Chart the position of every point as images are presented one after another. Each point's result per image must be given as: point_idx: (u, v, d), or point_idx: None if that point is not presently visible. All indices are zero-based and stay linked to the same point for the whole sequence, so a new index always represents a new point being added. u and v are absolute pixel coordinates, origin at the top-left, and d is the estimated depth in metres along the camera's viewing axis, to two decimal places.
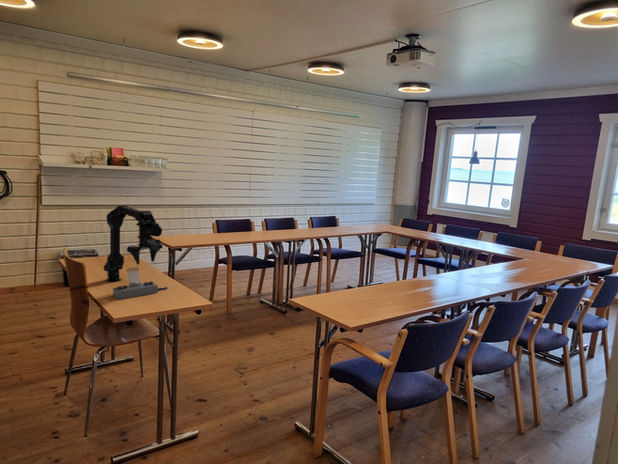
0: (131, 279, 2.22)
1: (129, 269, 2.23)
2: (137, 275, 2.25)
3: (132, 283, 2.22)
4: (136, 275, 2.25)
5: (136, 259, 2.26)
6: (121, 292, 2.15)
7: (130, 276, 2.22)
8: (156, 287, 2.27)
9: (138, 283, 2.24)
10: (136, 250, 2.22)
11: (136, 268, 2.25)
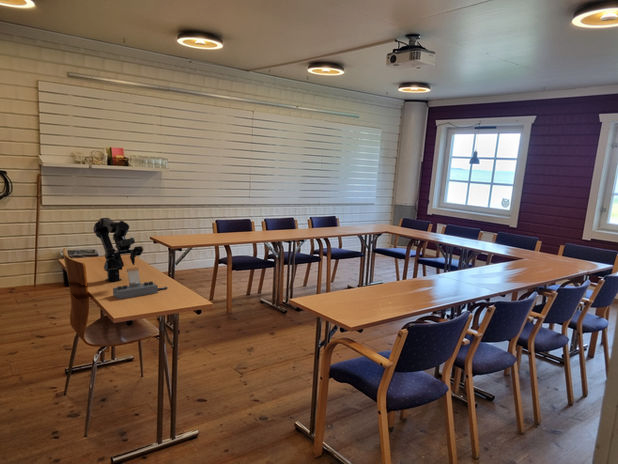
0: (131, 279, 2.22)
1: (129, 269, 2.23)
2: (137, 275, 2.25)
3: (132, 283, 2.22)
4: (136, 275, 2.25)
5: (119, 261, 2.27)
6: (121, 292, 2.15)
7: (130, 276, 2.22)
8: (156, 287, 2.27)
9: (138, 283, 2.24)
10: (110, 250, 2.25)
11: (136, 268, 2.25)
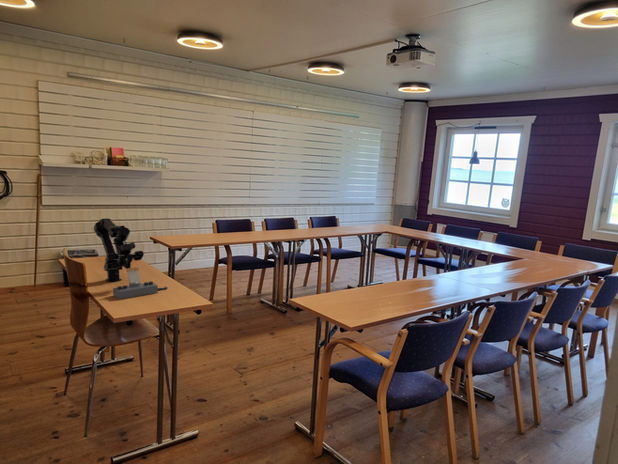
0: (131, 279, 2.22)
1: (129, 269, 2.23)
2: (137, 275, 2.25)
3: (132, 283, 2.22)
4: (136, 275, 2.25)
5: (125, 265, 2.28)
6: (121, 292, 2.15)
7: (130, 276, 2.22)
8: (156, 287, 2.27)
9: (138, 283, 2.24)
10: (111, 255, 2.24)
11: (136, 268, 2.25)
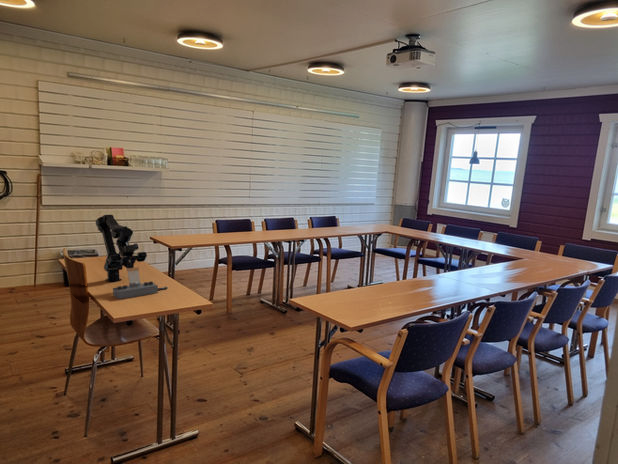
0: (131, 279, 2.22)
1: (129, 269, 2.22)
2: (137, 275, 2.25)
3: (132, 283, 2.22)
4: (136, 275, 2.24)
5: (128, 267, 2.25)
6: (121, 292, 2.15)
7: (130, 276, 2.22)
8: (156, 287, 2.27)
9: (138, 283, 2.24)
10: (114, 256, 2.21)
11: (136, 268, 2.25)
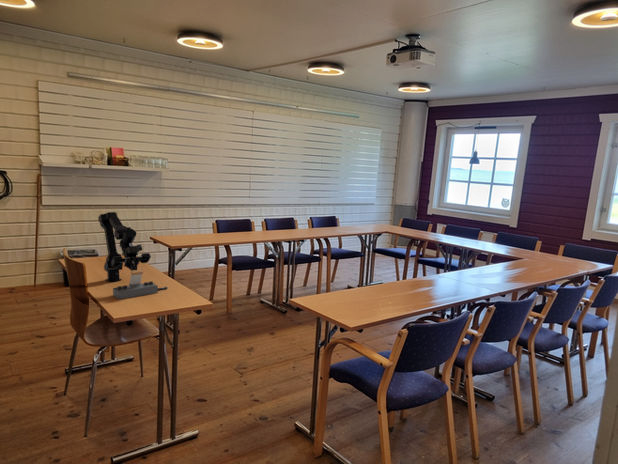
0: (132, 281, 2.21)
1: (133, 273, 2.18)
2: (139, 278, 2.23)
3: (132, 284, 2.22)
4: (138, 278, 2.22)
5: (132, 268, 2.22)
6: (121, 292, 2.15)
7: (132, 279, 2.20)
8: (156, 287, 2.27)
9: (138, 284, 2.24)
10: (117, 258, 2.18)
11: (141, 272, 2.21)
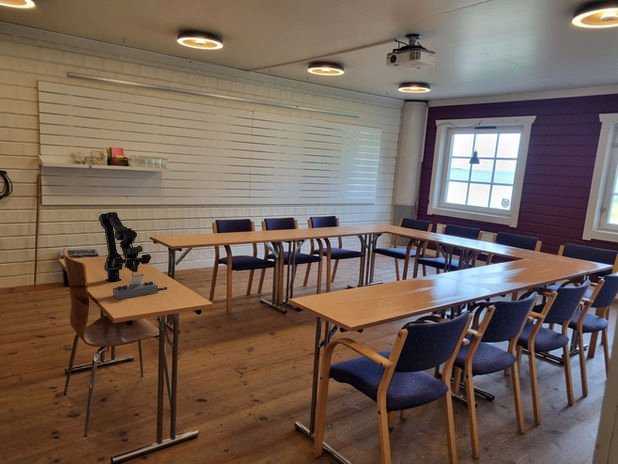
0: (133, 282, 2.21)
1: (134, 275, 2.18)
2: (140, 279, 2.22)
3: (132, 285, 2.22)
4: (139, 279, 2.22)
5: (132, 269, 2.22)
6: (121, 292, 2.15)
7: (133, 280, 2.20)
8: (156, 287, 2.27)
9: (138, 284, 2.25)
10: (117, 259, 2.17)
11: (141, 274, 2.20)
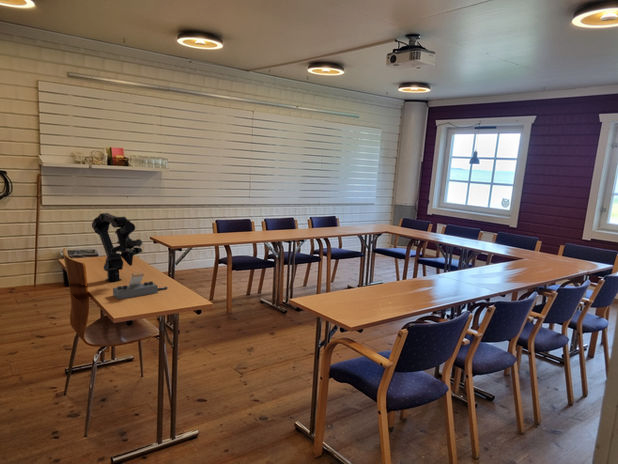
0: (133, 282, 2.21)
1: (134, 276, 2.18)
2: (140, 279, 2.22)
3: (132, 285, 2.22)
4: (139, 279, 2.22)
5: (128, 260, 2.31)
6: (121, 292, 2.15)
7: (133, 280, 2.20)
8: (156, 287, 2.27)
9: (138, 284, 2.25)
10: (122, 247, 2.26)
11: (141, 274, 2.20)
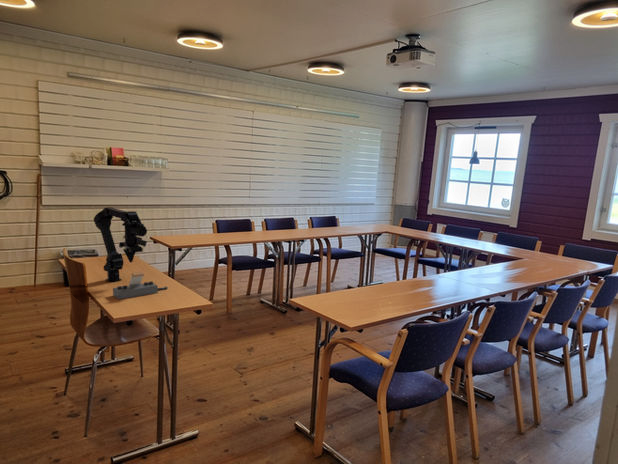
0: (133, 282, 2.21)
1: (134, 276, 2.18)
2: (140, 279, 2.22)
3: (132, 285, 2.22)
4: (139, 279, 2.22)
5: (131, 257, 2.37)
6: (121, 292, 2.15)
7: (133, 280, 2.20)
8: (156, 287, 2.27)
9: (138, 284, 2.25)
10: None
11: (141, 274, 2.20)
